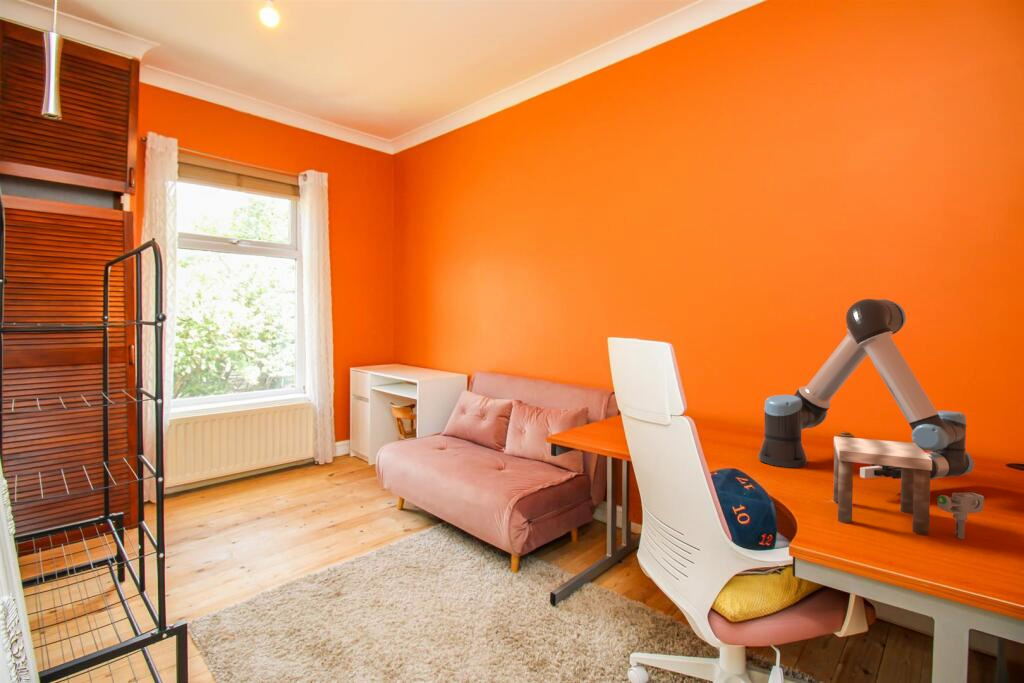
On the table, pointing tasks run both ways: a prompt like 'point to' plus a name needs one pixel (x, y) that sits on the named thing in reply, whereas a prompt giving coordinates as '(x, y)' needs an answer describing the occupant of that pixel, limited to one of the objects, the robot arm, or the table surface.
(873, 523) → the table surface
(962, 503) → the mechanical component
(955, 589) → the table surface
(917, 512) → the stool
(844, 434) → the ornamental finial
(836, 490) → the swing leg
